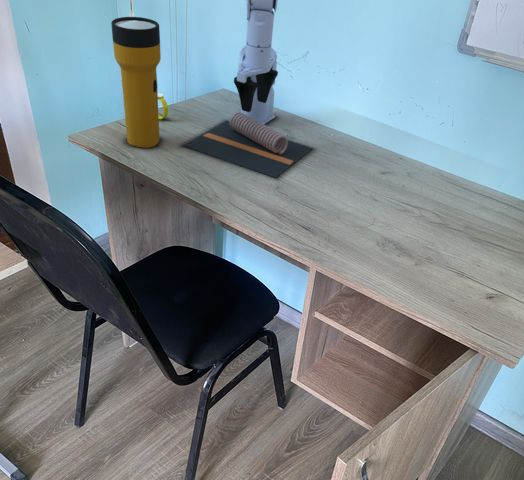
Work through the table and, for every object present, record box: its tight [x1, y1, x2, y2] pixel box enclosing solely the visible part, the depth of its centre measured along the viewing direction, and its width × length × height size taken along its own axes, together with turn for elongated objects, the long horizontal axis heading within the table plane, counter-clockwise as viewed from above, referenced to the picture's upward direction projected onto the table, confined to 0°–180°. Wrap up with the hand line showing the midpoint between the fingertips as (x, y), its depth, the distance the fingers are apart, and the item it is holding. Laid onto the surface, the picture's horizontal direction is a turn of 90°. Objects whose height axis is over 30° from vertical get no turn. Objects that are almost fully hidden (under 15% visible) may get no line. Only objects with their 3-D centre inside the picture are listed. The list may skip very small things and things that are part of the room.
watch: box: [158, 92, 169, 121], centre depth 140 cm, size 6×3×6 cm, turn 52°
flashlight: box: [110, 16, 162, 149], centre depth 122 cm, size 10×26×10 cm
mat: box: [182, 120, 314, 179], centre depth 134 cm, size 20×26×1 cm
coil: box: [229, 111, 289, 155], centre depth 135 cm, size 5×5×18 cm
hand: (254, 106), depth 129 cm, fingers open, 7 cm apart
